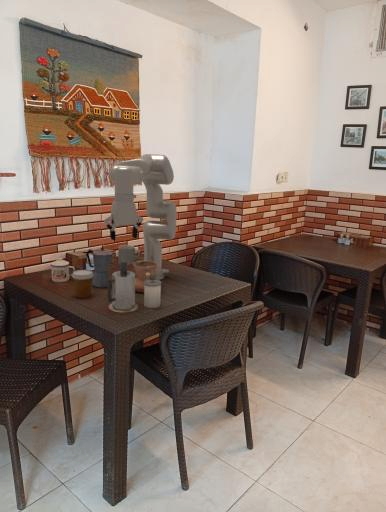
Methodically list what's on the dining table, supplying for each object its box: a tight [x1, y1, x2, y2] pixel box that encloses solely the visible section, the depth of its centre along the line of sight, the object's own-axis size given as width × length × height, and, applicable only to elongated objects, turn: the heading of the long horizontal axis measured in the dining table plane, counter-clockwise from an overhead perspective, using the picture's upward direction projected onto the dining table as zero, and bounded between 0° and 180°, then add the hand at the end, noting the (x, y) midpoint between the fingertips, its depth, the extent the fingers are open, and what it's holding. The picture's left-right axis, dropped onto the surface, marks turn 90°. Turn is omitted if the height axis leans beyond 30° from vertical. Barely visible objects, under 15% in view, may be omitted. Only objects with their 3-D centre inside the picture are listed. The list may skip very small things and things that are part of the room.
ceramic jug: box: [133, 259, 158, 294], centre depth 195 cm, size 18×14×14 cm
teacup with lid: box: [50, 257, 76, 283], centre depth 206 cm, size 12×9×12 cm
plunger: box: [119, 261, 128, 275], centre depth 170 cm, size 3×3×18 cm
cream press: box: [143, 273, 162, 309], centre depth 175 cm, size 8×8×16 cm
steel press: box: [106, 270, 136, 311], centre depth 171 cm, size 12×10×15 cm
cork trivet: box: [108, 302, 139, 313], centre depth 173 cm, size 13×13×1 cm
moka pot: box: [85, 246, 115, 288], centre depth 199 cm, size 10×15×20 cm, turn 78°
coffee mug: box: [117, 244, 141, 266], centre depth 244 cm, size 13×10×10 cm
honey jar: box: [71, 269, 94, 299], centre depth 183 cm, size 10×10×12 cm
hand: (124, 238), depth 166 cm, fingers open, 9 cm apart
